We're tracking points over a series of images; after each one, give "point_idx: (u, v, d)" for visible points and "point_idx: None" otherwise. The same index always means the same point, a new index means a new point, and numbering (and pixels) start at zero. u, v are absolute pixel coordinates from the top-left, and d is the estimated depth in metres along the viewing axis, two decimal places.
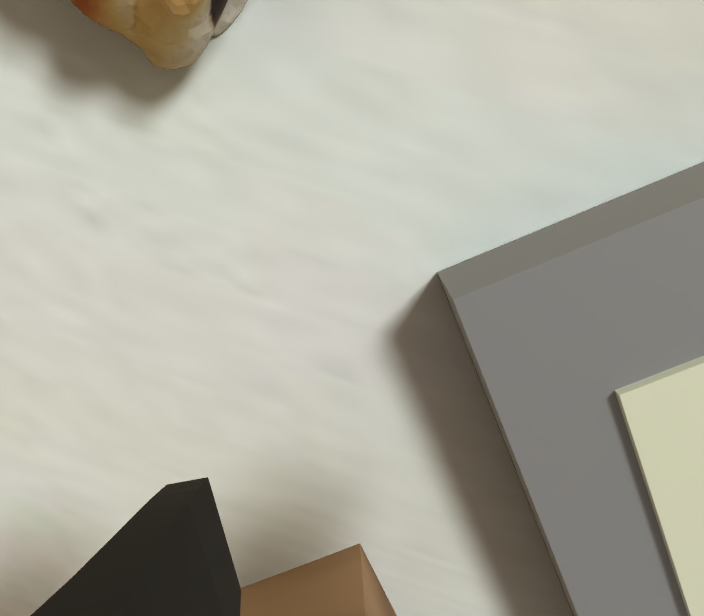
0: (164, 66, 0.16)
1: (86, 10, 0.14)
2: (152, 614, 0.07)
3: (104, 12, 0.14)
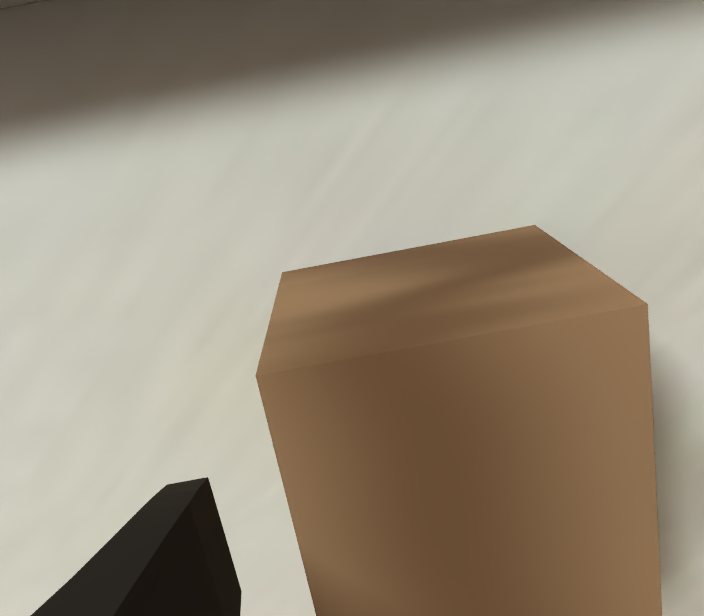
0: None
1: None
2: (152, 614, 0.07)
3: None
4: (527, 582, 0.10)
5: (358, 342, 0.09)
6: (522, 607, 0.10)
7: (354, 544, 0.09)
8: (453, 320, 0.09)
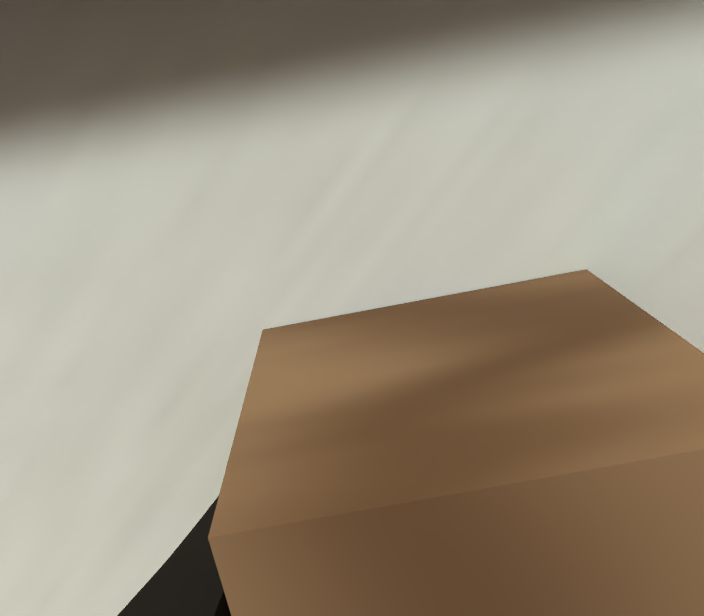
0: None
1: None
2: None
3: None
4: None
5: (364, 477, 0.06)
6: None
7: None
8: (504, 440, 0.06)
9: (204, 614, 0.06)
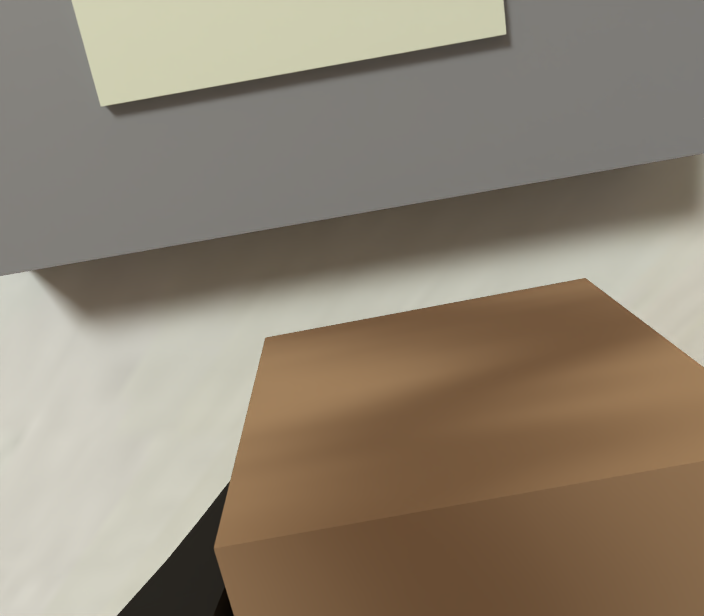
0: None
1: None
2: None
3: None
4: None
5: (366, 487, 0.06)
6: None
7: None
8: (503, 453, 0.06)
9: (203, 614, 0.06)
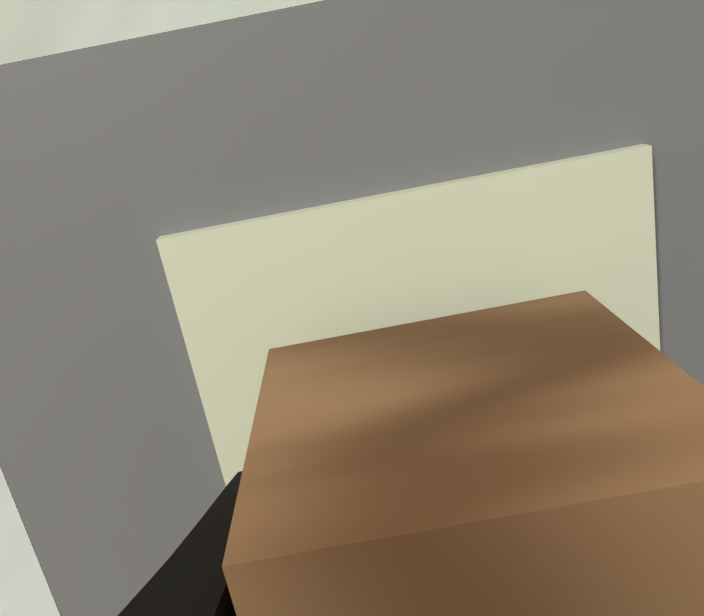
0: None
1: None
2: None
3: None
4: None
5: (371, 506, 0.06)
6: None
7: None
8: (506, 470, 0.06)
9: (204, 614, 0.06)
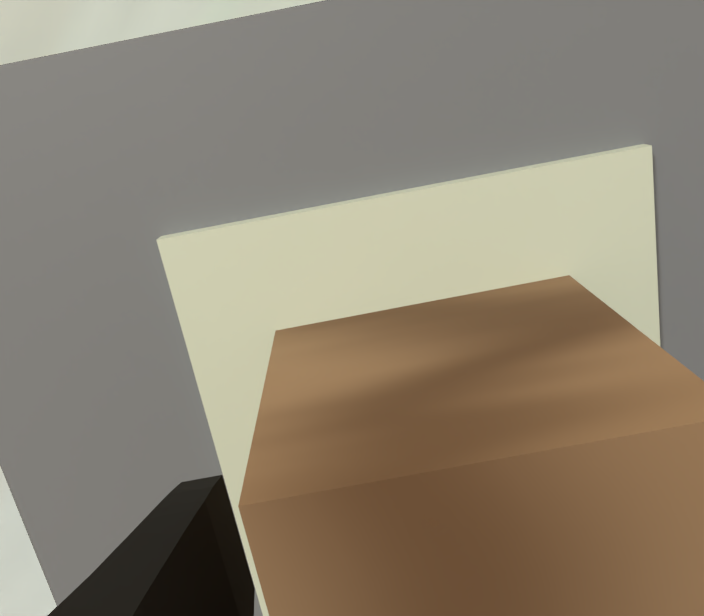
0: None
1: None
2: (171, 611, 0.07)
3: None
4: None
5: (369, 456, 0.07)
6: None
7: None
8: (490, 425, 0.07)
9: None
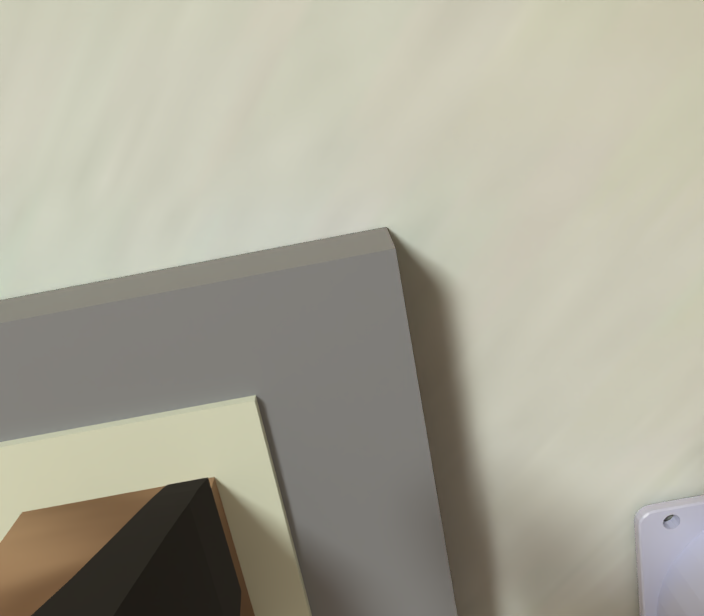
0: None
1: None
2: (152, 614, 0.07)
3: None
4: None
5: None
6: None
7: None
8: None
9: None
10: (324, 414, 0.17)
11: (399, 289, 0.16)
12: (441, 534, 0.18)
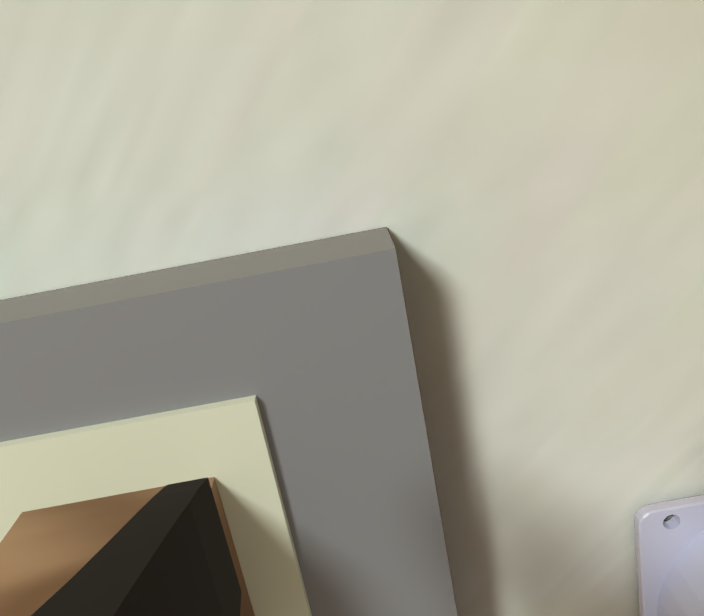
0: None
1: None
2: (152, 614, 0.07)
3: None
4: None
5: None
6: None
7: None
8: None
9: None
10: (324, 414, 0.17)
11: (399, 289, 0.16)
12: (441, 534, 0.18)
